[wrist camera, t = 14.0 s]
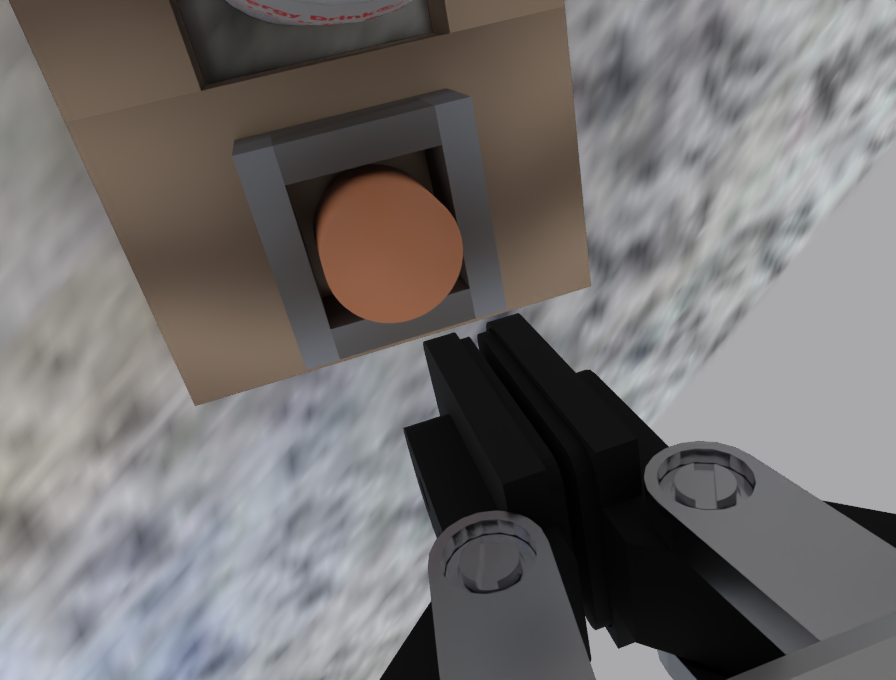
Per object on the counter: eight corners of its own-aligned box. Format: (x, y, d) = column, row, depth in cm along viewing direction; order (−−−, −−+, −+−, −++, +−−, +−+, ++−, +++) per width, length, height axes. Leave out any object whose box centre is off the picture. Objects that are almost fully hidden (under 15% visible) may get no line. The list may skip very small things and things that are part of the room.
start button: (296, 183, 18) (304, 208, 15) (422, 150, 18) (448, 170, 16) (332, 300, 19) (344, 339, 17) (446, 267, 20) (473, 301, 18)
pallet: (-106, -309, 14) (-240, -435, 10) (493, -389, 16) (570, -519, 12) (199, 376, 23) (188, 449, 19) (567, 267, 25) (626, 313, 21)
